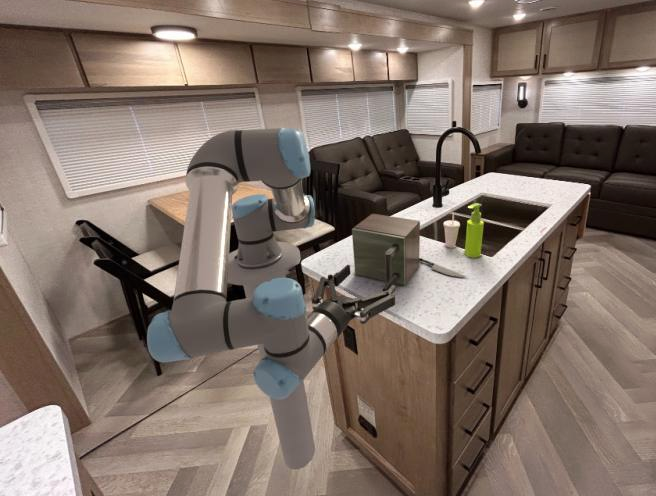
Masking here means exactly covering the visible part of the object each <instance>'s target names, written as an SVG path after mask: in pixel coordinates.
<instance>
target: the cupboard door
mask: <svg viewBox="0 0 656 496" xmlns="http://www.w3.org/2000/svg"><path fill="white" fill-rule="evenodd" d="M351 236H352V238H351V239H352V251H353V264H354V274H355V275H357V276H362V277H365V278H369V279H374V280H378V281H381V282H385V285H386V284H387V283H388V282H389V280H390V279H391V278H392V277H393V276H394V275H397V285H400V286H405V285H406V284H405V237H401V236H395V235H389V234H384V233H378V232H372V231H367V230H361V229H355V228H354V227H353V228H352V229H351Z"/></svg>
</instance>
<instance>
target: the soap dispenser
mask: <svg viewBox="0 0 656 496" xmlns="http://www.w3.org/2000/svg"><path fill="white" fill-rule="evenodd" d="M480 207H482V204H481V203H478V202H476V203H472V204H470V205H468V206H467V208H468V209H469V210H473V211H472V212H471V215H470V219H467V220H466V232H465V244H464V255H465V256H466V257H469V258H474V259H475V258H479V257H481V254H482V244H483V234H484V227H485V225H484V224H485V222H484V220H482V213H481V211H480Z"/></svg>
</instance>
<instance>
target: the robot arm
mask: <svg viewBox="0 0 656 496" xmlns="http://www.w3.org/2000/svg"><path fill="white" fill-rule="evenodd" d="M309 154H310V153H309V150H308V147H307V141H306V138H305V135H304V133H303V131H302V130H301V129H299V128H294V127H293V128H292V127H286V126H285V127H283V126H282V127H279V128H261V129H260V128H259V129H231V130H226V131H222V132H220V133H218V134H215V135H213V136H212V137H211V138H208V140H207V141H205V142H204V143H203V144H201V146H200V147H199V148H198V149H197V151H196V152H195V153H194V155H193V156H192V158H191V159H190V160H189V161H190V162H189V163H188V166H187V169H186V173H185V174H186V175H185V179H184V182H185V186H186V187H187V188H188V190H189V193H188V201H187V207H186V213H185V214H186V215H185V220H184V226H183V234H182V240H181V245H180V246H181V247H180V253H179V260H178V267H177V273H176V281H175V286H174V287H175V288H174V294H173V303H172V306H171V310H166V311H164V312H160V313H157V314H155V316H153V318H152V320H151V322H150V324H149V325H148V327H147V332H146V333H147V334H146V343H147V349H148V352H149V354H150V356H151V357H152V359H154V360H155V361H156V362H159V363H170V362H177V361H184V360H193V359H194V358H195V359H196V358H200V357H203V356H208V355H212V354H218V353H222V352H226V351H233V350H238V349H242V348H247V347H253V346H257V345H258V344H263V345H264V350H265V354H266V356H265V357H264V358H262V359H260V361H259V362H258V363H257V364H256V365H255V367H254V370H253V372H252V377H253V380H254V382H255V384H256V386H257V388H258V389H259V390H260V391H261V392H262V393H264V395H266V396H267V397H268V398H270V397H272V398H274V399H284V398H286V397H288V396H289V395H290V394H291V393H292V391H293V390H294V389H295V388H296V387H297V386H298V385H299V384H301V383H302V381H303V380H305V379H306V377H308V375H309V374H310V372H311V371H312V370H313V369H314V368H315V366H316V365H317V364H318V363H319V361H320V360H321V359H322V358H323V356H324V355H325V354H326V352H327V351H328V350H329V349H330V348H331V346H332V345H333V344H334V343H335V342H336V340H337V339H338V338H339V337H340V336H341V334H342V333H343V332H344V331H345V330H346V329H347V327H348V326H349V324H350V322H351V321H352V320H354V319H357V320H359V321H360V324H361V325H365V324H366V323H368V321H369V320H370V319H372V318H374V317H376V316H377V315H379V314H381V313H384V312H385V311H386V310H389V309H390V308H392V307H394V306H395V305H396V294H395V292H396V286H397V285H398V284H397V275H394V276H393V277H392V278H391V279H390V280H389V282H388V283H387V284H386V283H385V285H384V286H383V287H382V291H380V292H377V293H373V294H370V295H366V296H363V297H361V296H357V297H348V296H345V295H338V293H337V291H336V287H339V286H340V285H341V284H342V283H343V282H344V281H345V280H346V279H347V278H348V277H350V275H351V273H352V272H351V265H350V264H346V265H345V266H344V267H343V268H342V269H341V270H340V271H338V272H335V273H334V274H328V275H327V278H326V277H325V276H322V277H320V279H319V281H318V285H317V289H316V292H315V295H314V296H313V297H312V298H311V299H310V301H311V307H312V311H311V312H310V313H309V314H308V315H307V305H306V301H305V297H304V294H303V289H302V286H301V284H300V283H299V282H298V281H297V280H295V279H293V278H289V277H286V278H275V279H272V280H271V281H269V282H264V283H262V284H260V285H259V286H258V287H257V288H256V289H255V291H254V293H253V298H247V299H246V298H241V299H236V300H230V301H229V300H228V301H227V297H228V295H227V294H228V283H227V279H228V262H229V254H230V242H231V241H230V240H231V225H232V224H231V223H232V219H233V223H234V228H235V232H236V236H237V240H238V247H237V249H238V253H237V255H236V256H235V257H234V258H235V259H237V263H238V265H239V266H240V267H241V268H244V269H260V268H264V267H268V266H270V265H273V264H275V263H276V262H278V261H279V260H280V259H281V258H282V255H283V254H282V249H281V247H280V246H279V244H278V242H279V241H278V240H277V239H276V237H275V233H274V232H283V231H291V230H300V229H303V230H304V229H307V228H311V227H313V226H314V225H315V220H316V218H315V215H316V211H315V203H314V198H313V197H312V195H309V194H305V193H304V189H303V185H302V180H303V179H305V178H307V177H309V176H310V175H311V172H312V171H311V163H310V162H311V161H310V155H309ZM249 182H250V183H251V182H252V183H253V182H262V183H263V185H265V186H266V187H268V188H269V190H270V191H271V194H272V196H273V198H268V197H269V196H267V195H266V194H261V193H257V194H251V195H248V196H244V197H241V198H239V199H238V200H236V201H234V202H233V195H234V194H236V192H237V191H238V188H239V184H240V183H249ZM327 287H328V289H329V295H330V298H328V299H325V300H324V298H325V297H324V296H325V293H326V290H327V289H326V288H327ZM356 305H357V306H356Z"/></svg>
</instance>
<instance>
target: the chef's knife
mask: <svg viewBox="0 0 656 496" xmlns="http://www.w3.org/2000/svg"><path fill="white" fill-rule="evenodd" d="M419 262H421V263H425V264H428V265H429V266H432V267H431V270H433V271H436V272H439V273H441V274H444V275H446V276H447V275H448V276H451V277H457V278H467V276H465V275H464V274H462V273H459V272H457V271H455V270H452V269H449V268H446V267H444V266H442V265H439V264H436V263H434V262H432V261H429V260H426V259H424V258H422V257H419Z"/></svg>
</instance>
